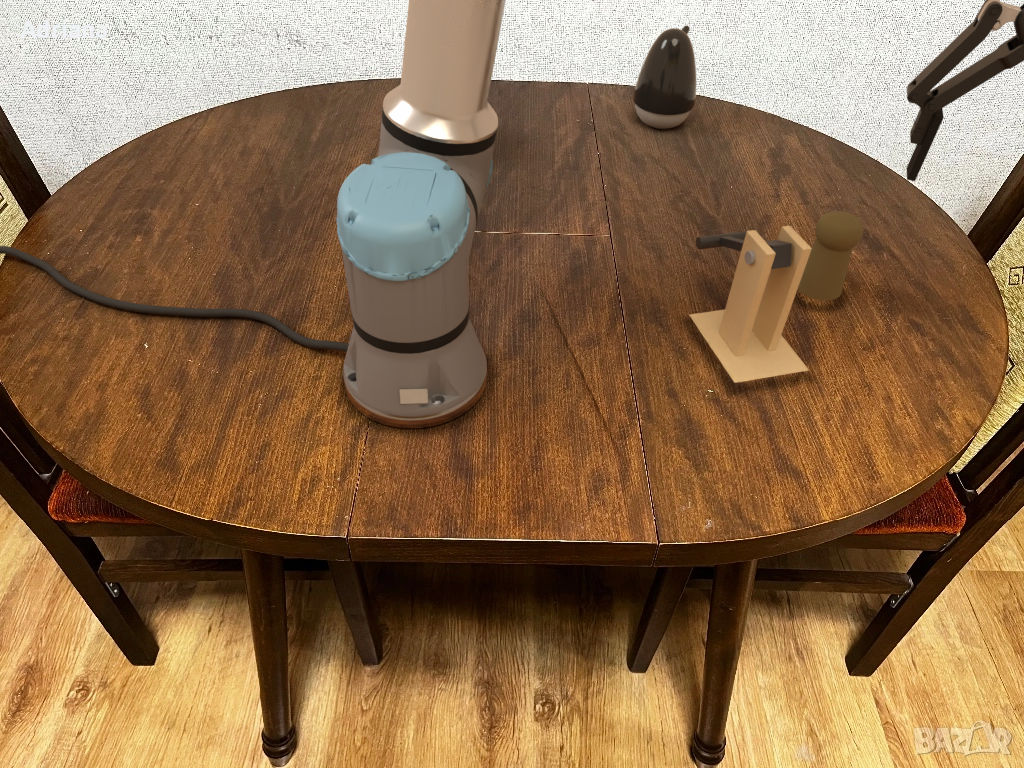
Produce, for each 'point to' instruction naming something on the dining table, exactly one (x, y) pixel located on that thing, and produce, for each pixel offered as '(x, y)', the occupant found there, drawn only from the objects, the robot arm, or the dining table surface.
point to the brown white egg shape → (667, 81)
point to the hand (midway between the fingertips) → (983, 189)
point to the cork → (830, 255)
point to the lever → (736, 243)
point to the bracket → (757, 311)
